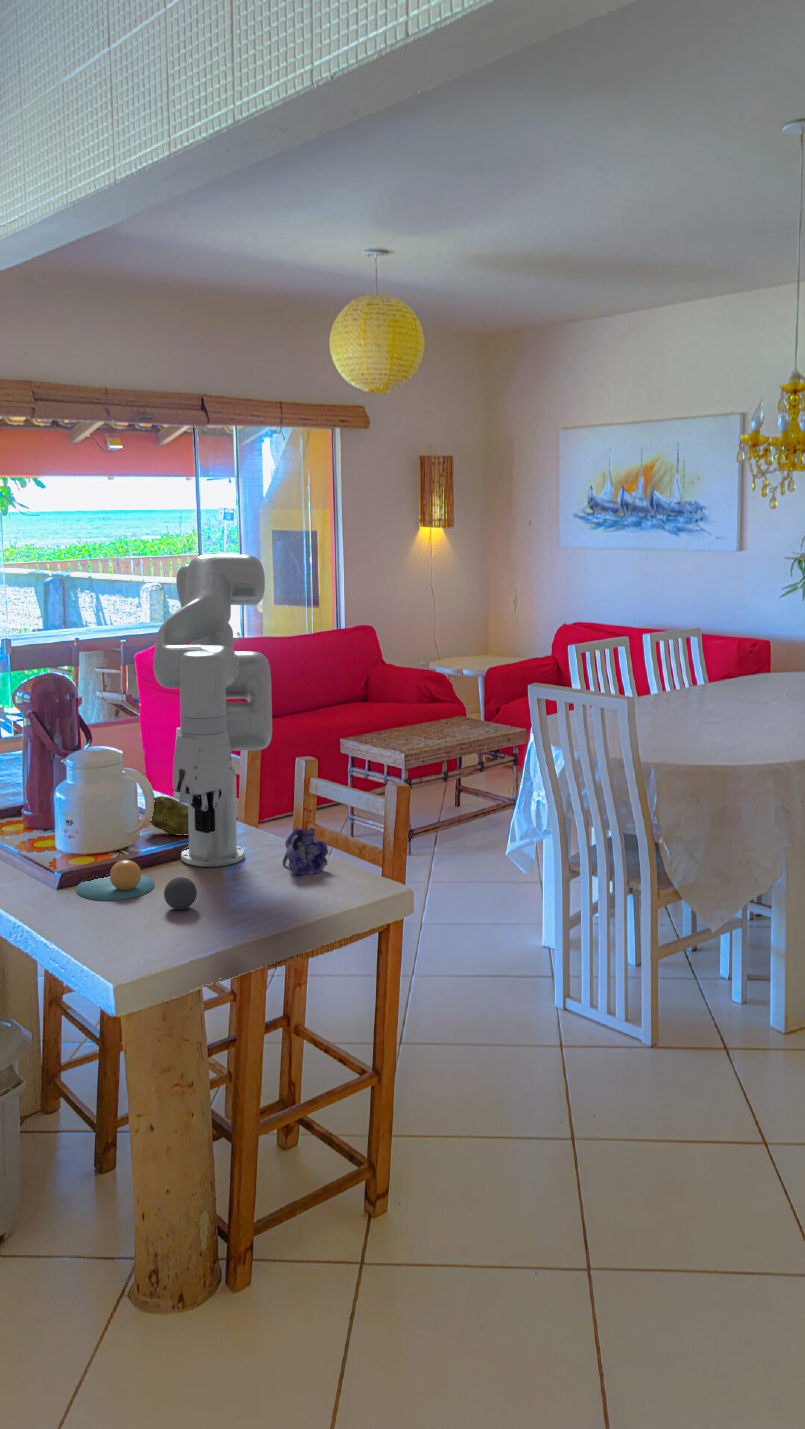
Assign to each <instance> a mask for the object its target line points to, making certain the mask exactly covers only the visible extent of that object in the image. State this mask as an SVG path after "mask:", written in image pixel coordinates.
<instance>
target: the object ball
mask: <svg viewBox="0 0 805 1429" xmlns="http://www.w3.org/2000/svg"><path fill="white" fill-rule="evenodd" d="M109 874H110V880H111V883H112V884H113V886H114V887H116V888H117V889H119V890H122V891H127V890H131V889H133V888H135V887H136V886H137V885H138V884H139V882H140V880H141V875H142V870H141V868H140V866H139V865H138V864H137V863H136V862H135V861H133V860H130V859H122V860H119V861H117V862H116V863H115V864H114V865H113V866H112V867H111V869H110V872H109Z"/></svg>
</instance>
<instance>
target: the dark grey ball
mask: <svg viewBox="0 0 805 1429" xmlns="http://www.w3.org/2000/svg"><path fill="white" fill-rule="evenodd" d="M197 893H198V892H197V887H196V885H195V884H194V882H193V881H192V880H191V879H189V878H187V877H183V876H178V877H175V878H172V879H171V880H170V881H169V882H168V883H167V884H166V885H165V888H164V892H163V897H164V900H165V902H166V904H167V905H168V906H169V907H171V908H172V909H174V910H177V911H178V910H179V911H180V910H186V909H188V908H190V907H191V906H192V905H193V904H194V902H195V901H196V899H197Z"/></svg>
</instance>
